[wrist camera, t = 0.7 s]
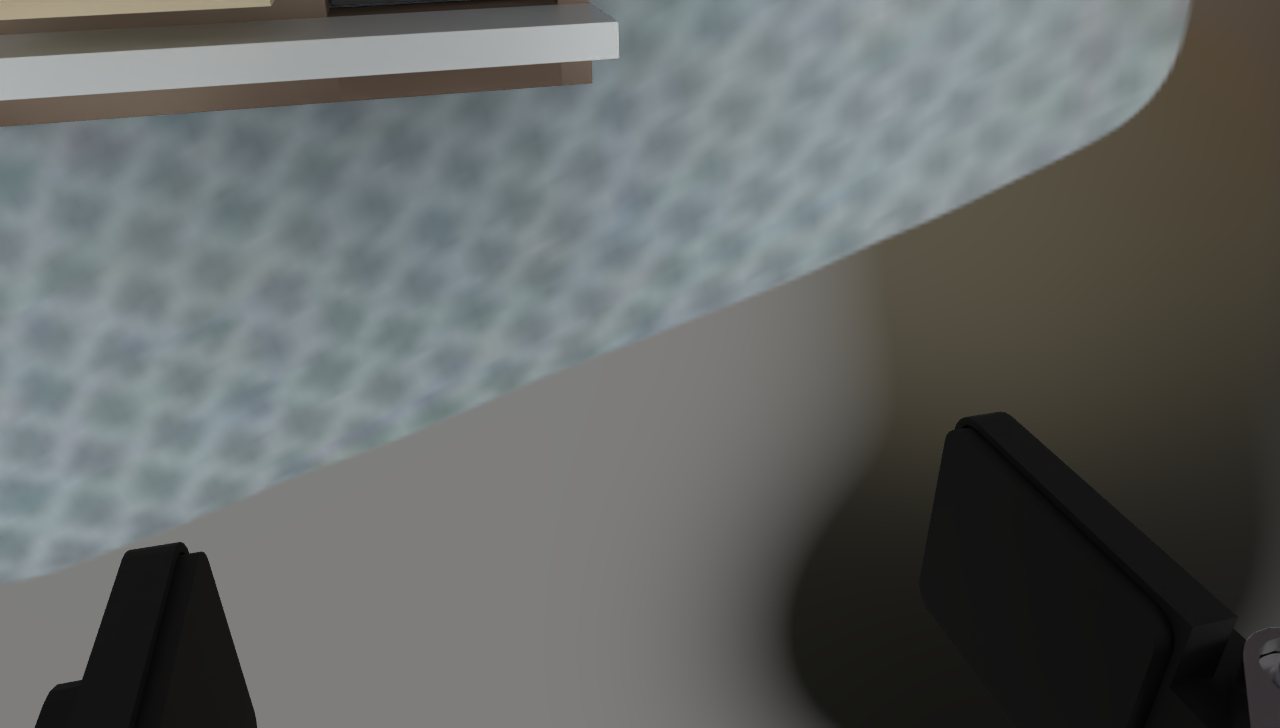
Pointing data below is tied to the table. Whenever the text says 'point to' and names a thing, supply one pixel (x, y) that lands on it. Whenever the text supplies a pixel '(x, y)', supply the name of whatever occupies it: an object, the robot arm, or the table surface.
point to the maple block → (111, 7)
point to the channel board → (291, 55)
